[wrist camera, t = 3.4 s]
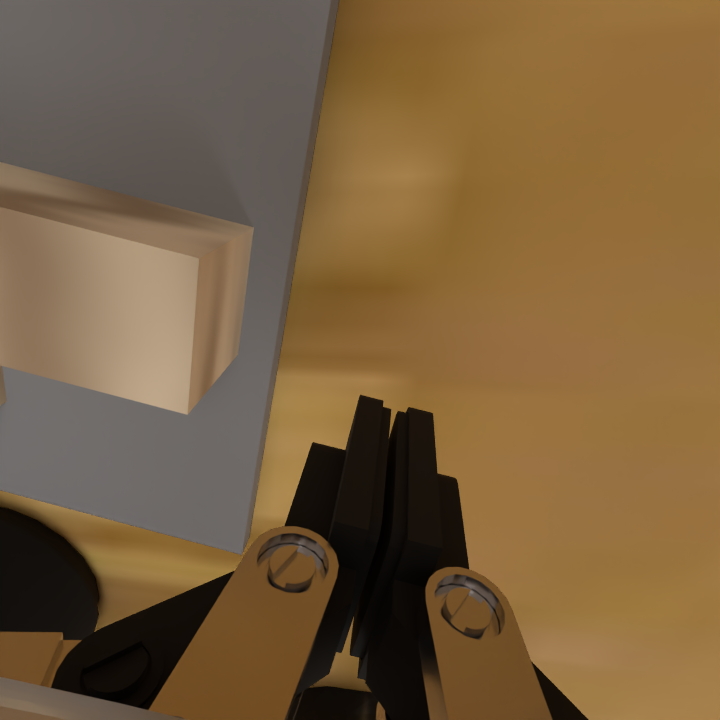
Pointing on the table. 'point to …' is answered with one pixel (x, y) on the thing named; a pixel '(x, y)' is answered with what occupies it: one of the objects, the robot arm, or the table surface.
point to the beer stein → (336, 704)
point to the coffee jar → (43, 581)
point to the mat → (178, 189)
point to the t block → (117, 290)
